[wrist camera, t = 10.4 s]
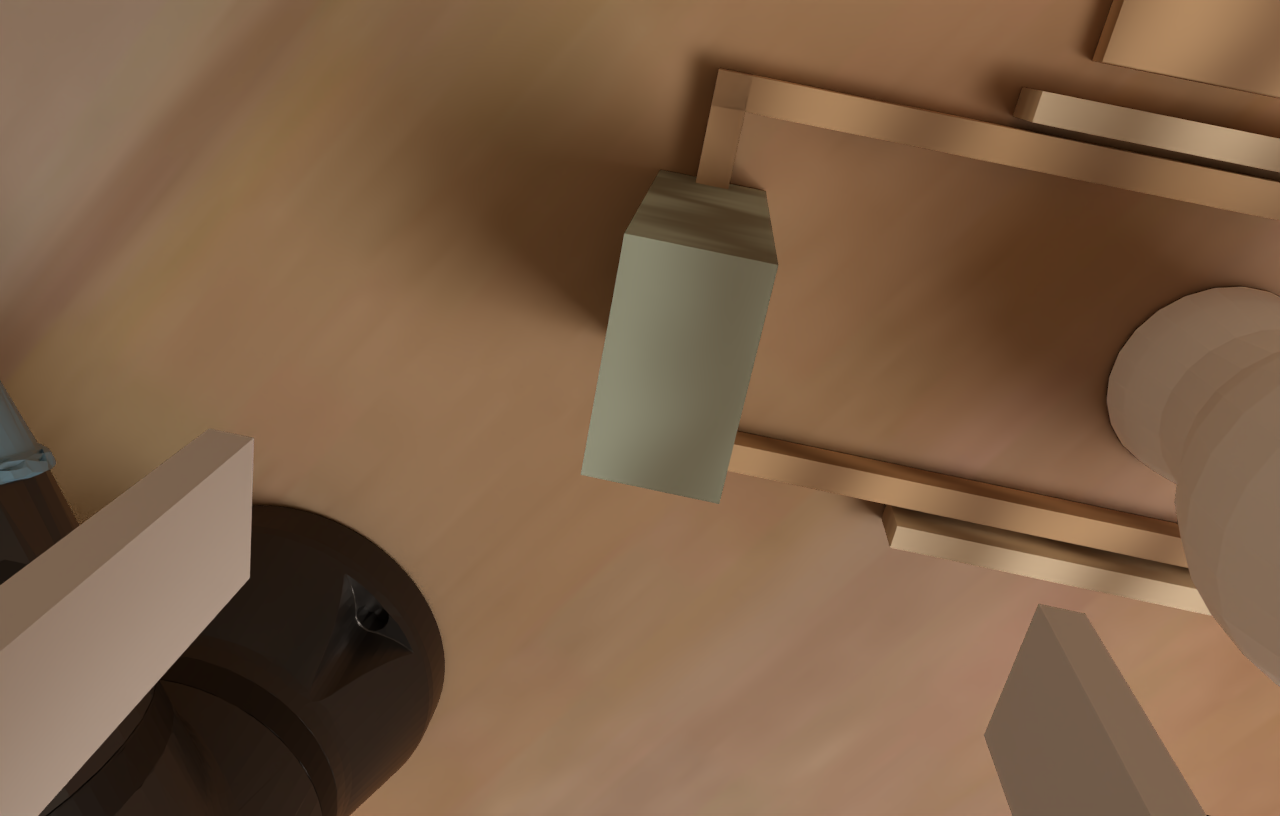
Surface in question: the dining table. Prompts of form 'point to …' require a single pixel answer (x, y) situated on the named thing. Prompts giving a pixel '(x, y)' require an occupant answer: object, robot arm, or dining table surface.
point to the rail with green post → (739, 297)
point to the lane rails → (1172, 46)
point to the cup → (1214, 448)
